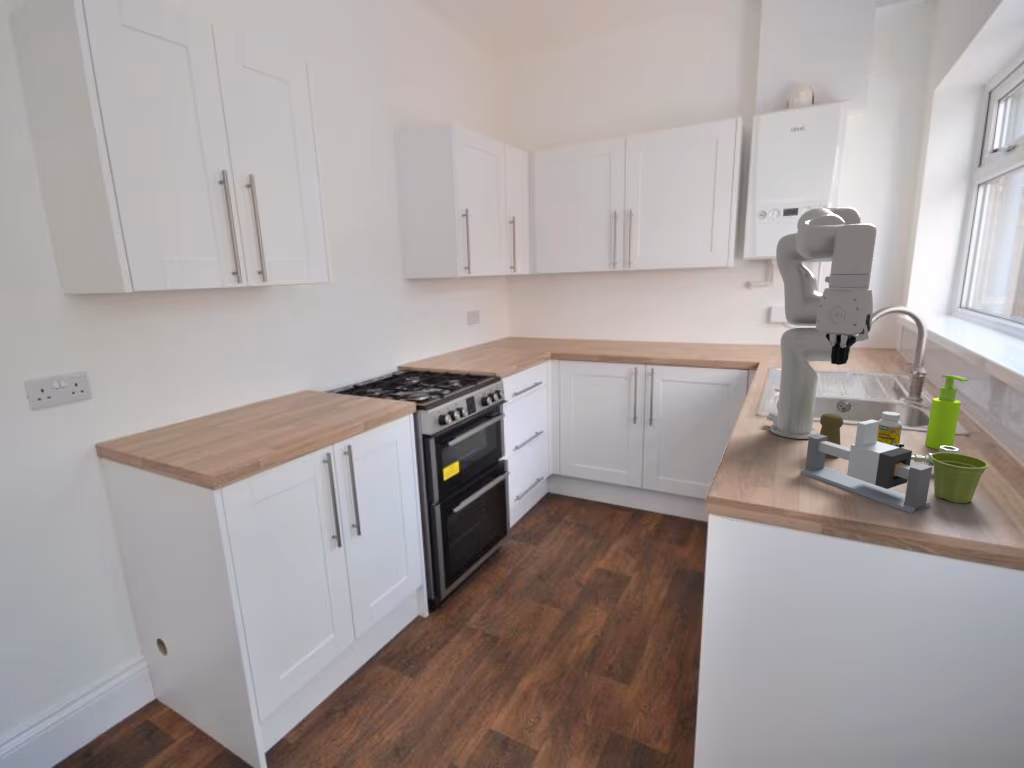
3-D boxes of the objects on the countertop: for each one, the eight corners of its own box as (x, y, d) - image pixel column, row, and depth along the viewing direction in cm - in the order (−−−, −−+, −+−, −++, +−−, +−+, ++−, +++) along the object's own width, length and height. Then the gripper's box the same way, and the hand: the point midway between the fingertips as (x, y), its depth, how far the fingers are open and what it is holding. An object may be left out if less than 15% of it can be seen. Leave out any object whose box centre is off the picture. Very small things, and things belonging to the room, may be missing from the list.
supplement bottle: (900, 446, 142) (905, 412, 140) (896, 451, 138) (902, 417, 136) (876, 442, 145) (881, 409, 143) (872, 447, 142) (877, 413, 140)
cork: (833, 459, 133) (838, 419, 131) (809, 453, 138) (814, 413, 136) (845, 455, 136) (850, 415, 134) (822, 448, 142) (826, 410, 139)
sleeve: (847, 475, 115) (853, 423, 113) (866, 469, 118) (873, 418, 116) (875, 484, 110) (882, 430, 107) (895, 478, 113) (903, 425, 110)
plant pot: (934, 503, 108) (940, 465, 106) (917, 486, 117) (923, 450, 115) (990, 510, 105) (998, 470, 103) (968, 491, 114) (975, 454, 112)
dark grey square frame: (875, 484, 110) (879, 453, 108) (895, 478, 113) (899, 447, 111) (887, 489, 108) (891, 456, 106) (907, 482, 111) (912, 450, 109)
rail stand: (800, 472, 126) (804, 437, 124) (819, 467, 129) (823, 433, 127) (910, 513, 105) (916, 471, 103) (929, 505, 107) (936, 465, 106)
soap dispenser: (944, 452, 137) (957, 378, 132) (919, 444, 143) (930, 373, 139) (962, 450, 138) (975, 377, 133) (936, 442, 144) (948, 372, 140)
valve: (950, 470, 126) (891, 464, 130) (955, 444, 124) (895, 439, 129) (961, 480, 120) (898, 473, 124) (966, 453, 118) (902, 447, 123)
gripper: (806, 282, 119) (797, 360, 123) (874, 284, 106) (862, 371, 110) (827, 280, 122) (818, 356, 126) (895, 282, 109) (883, 367, 113)
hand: (838, 363), depth 118 cm, fingers closed
